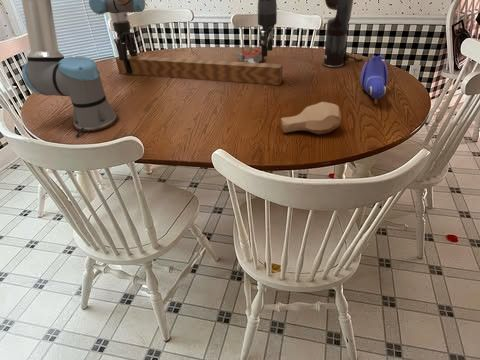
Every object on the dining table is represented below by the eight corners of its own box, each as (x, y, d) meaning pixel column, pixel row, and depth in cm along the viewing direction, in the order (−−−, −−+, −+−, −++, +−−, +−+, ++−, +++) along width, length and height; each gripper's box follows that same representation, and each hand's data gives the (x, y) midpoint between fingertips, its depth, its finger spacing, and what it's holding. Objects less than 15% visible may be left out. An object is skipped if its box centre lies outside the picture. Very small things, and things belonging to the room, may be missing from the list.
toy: (357, 95, 150) (363, 108, 128) (360, 53, 144) (367, 59, 122) (382, 94, 148) (392, 108, 126) (386, 52, 142) (398, 58, 119)
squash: (345, 135, 116) (346, 113, 109) (284, 145, 118) (282, 124, 111) (337, 115, 123) (337, 93, 117) (280, 125, 125) (277, 104, 119)
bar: (119, 73, 177) (115, 58, 173) (124, 70, 181) (120, 55, 176) (279, 85, 154) (280, 67, 149) (282, 81, 157) (282, 64, 153)
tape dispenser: (256, 76, 167) (275, 61, 180) (255, 65, 164) (276, 50, 176) (225, 69, 175) (246, 55, 187) (224, 59, 171) (245, 45, 184)
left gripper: (116, 26, 155) (129, 78, 169) (138, 17, 169) (148, 65, 182) (102, 26, 157) (115, 77, 171) (124, 16, 171) (135, 65, 185)
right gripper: (271, 15, 134) (271, 59, 143) (280, 8, 144) (279, 48, 154) (252, 15, 136) (253, 58, 145) (262, 7, 147) (263, 48, 156)
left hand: (132, 71), depth 177 cm, fingers closed on bar, 5 cm apart
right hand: (267, 53), depth 150 cm, fingers open, 8 cm apart
